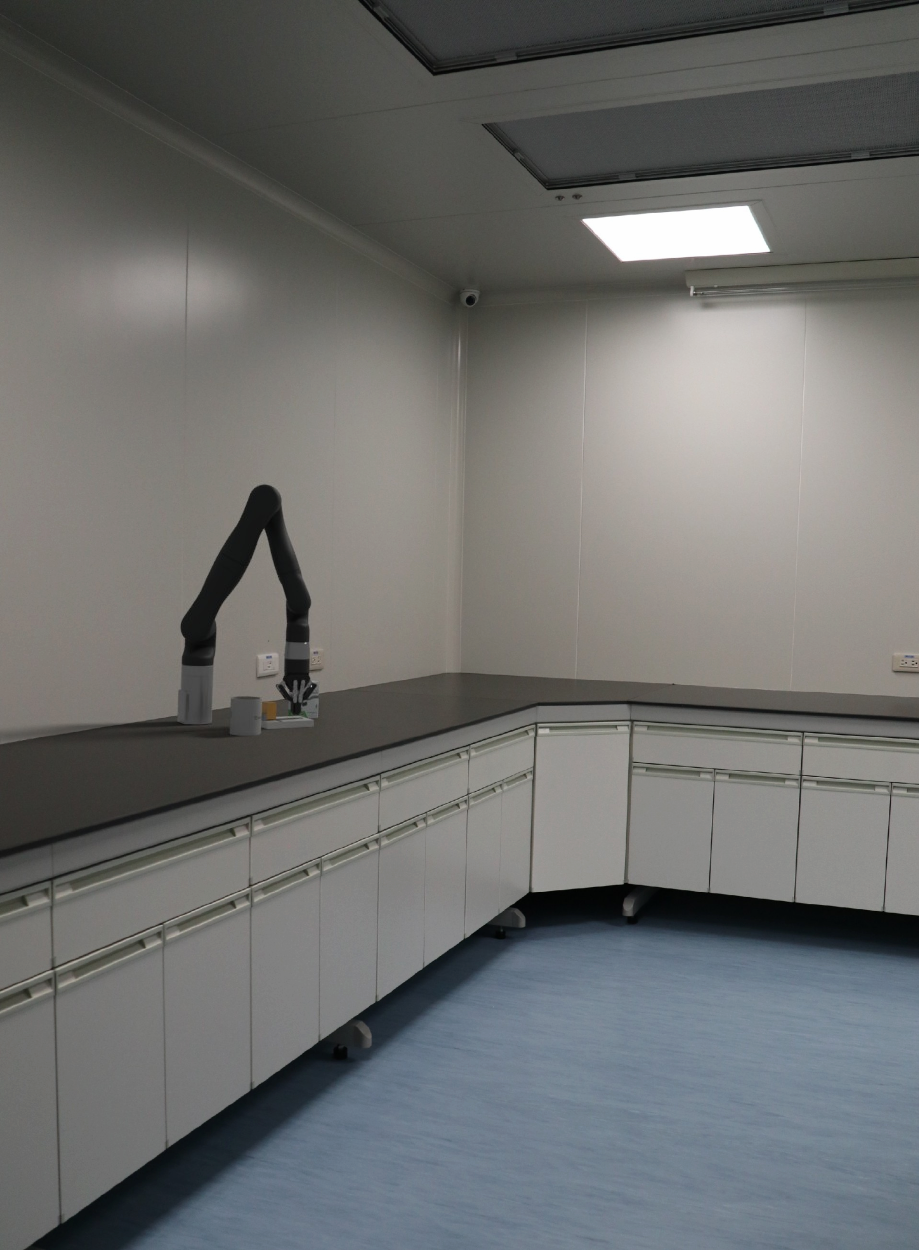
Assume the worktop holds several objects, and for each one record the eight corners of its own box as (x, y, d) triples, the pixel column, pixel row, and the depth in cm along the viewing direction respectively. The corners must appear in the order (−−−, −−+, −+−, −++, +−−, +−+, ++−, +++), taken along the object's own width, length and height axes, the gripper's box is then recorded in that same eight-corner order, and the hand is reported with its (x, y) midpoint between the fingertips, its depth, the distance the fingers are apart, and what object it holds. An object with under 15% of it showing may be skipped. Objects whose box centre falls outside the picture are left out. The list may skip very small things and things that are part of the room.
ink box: (296, 720, 325) (297, 682, 324) (287, 718, 328) (288, 680, 328) (318, 718, 331) (320, 681, 330) (309, 716, 334) (310, 679, 334)
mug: (250, 736, 288) (252, 700, 288) (223, 734, 291) (224, 698, 290) (272, 731, 300) (274, 696, 299) (246, 728, 302) (247, 694, 302)
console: (267, 729, 303) (267, 715, 303) (253, 724, 311) (253, 711, 311) (313, 726, 311) (314, 713, 311) (298, 722, 320) (299, 709, 319)
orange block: (266, 719, 306) (267, 703, 306) (261, 717, 309) (261, 701, 309) (276, 719, 308) (276, 702, 307) (270, 717, 311) (271, 701, 311)
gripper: (281, 658, 305) (280, 717, 306) (322, 657, 313) (321, 715, 313) (271, 656, 311) (270, 714, 312) (311, 655, 319) (310, 712, 320)
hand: (295, 714), depth 313 cm, fingers closed
